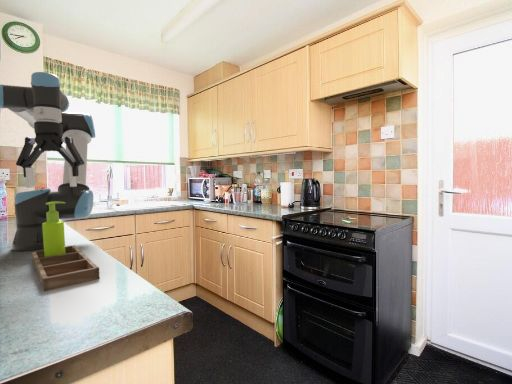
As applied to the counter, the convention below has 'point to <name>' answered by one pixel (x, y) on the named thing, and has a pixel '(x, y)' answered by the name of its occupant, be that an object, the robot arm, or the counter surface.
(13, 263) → the counter surface
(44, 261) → the pocket rack
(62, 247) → the soap dispenser
